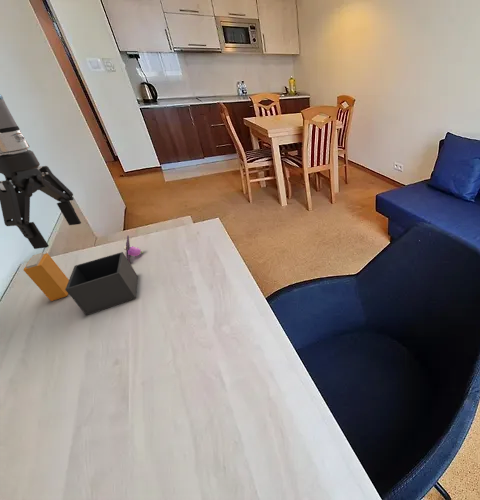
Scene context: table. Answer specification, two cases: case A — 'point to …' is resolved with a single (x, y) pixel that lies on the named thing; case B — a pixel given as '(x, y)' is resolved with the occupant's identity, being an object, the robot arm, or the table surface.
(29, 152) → the robot arm
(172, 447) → the table surface
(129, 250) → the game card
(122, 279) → the bin
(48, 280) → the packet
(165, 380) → the table surface
